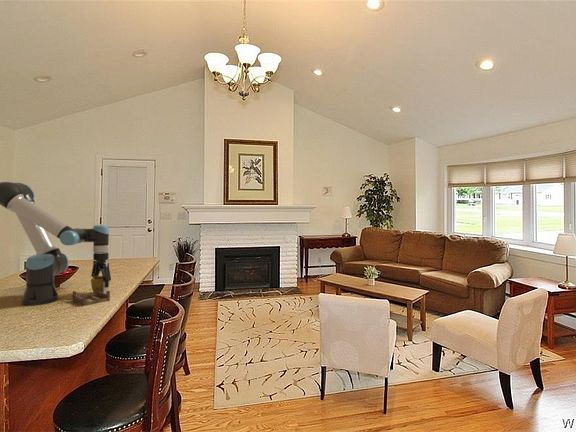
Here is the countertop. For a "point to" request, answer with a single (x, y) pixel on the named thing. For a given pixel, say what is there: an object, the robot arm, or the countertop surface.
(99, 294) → the rack
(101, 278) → the flower pot
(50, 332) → the countertop surface
